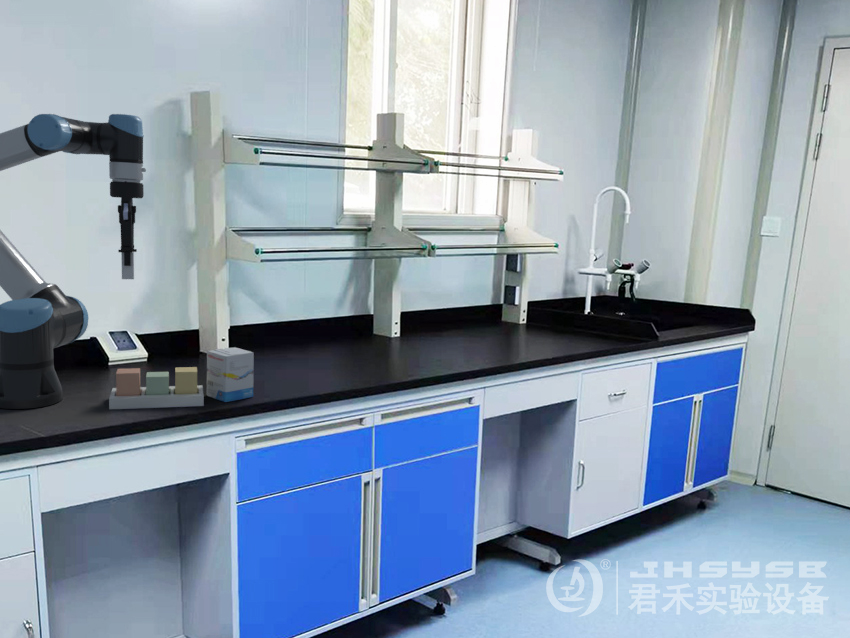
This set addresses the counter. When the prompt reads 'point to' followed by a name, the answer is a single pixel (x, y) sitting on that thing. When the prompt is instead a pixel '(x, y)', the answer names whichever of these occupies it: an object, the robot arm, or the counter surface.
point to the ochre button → (186, 380)
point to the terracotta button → (128, 382)
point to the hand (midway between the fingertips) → (127, 278)
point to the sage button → (157, 383)
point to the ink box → (230, 374)
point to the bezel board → (156, 399)
